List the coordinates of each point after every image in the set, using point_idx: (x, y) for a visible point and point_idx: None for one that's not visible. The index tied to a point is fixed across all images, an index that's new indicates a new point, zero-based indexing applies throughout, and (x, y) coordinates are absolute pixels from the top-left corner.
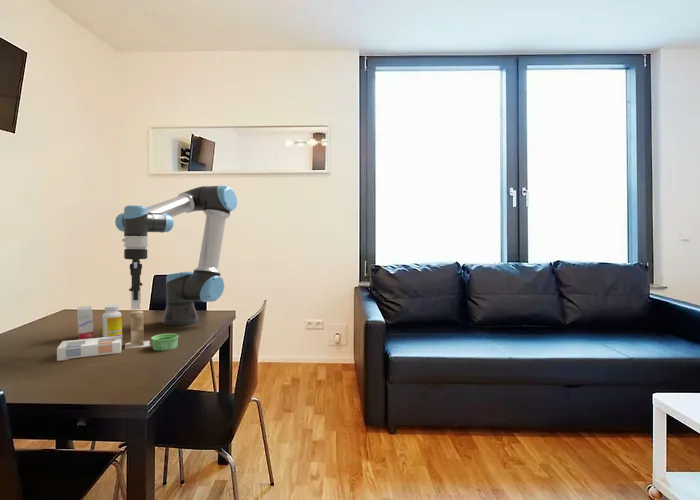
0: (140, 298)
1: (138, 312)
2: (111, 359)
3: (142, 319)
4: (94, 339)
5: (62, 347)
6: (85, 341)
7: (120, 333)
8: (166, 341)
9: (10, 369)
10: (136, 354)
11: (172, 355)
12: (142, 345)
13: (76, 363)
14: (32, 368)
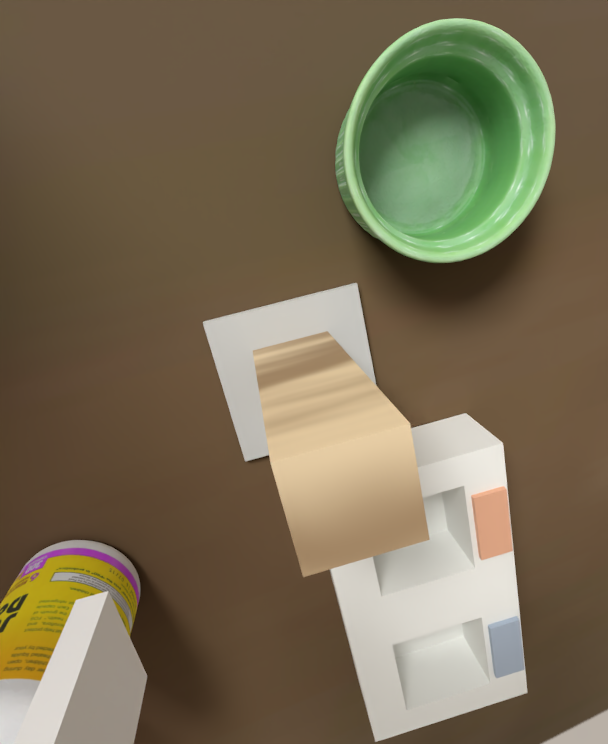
0: (81, 662)
1: (381, 480)
2: (554, 423)
3: (384, 399)
4: (379, 614)
5: (511, 681)
6: (390, 643)
7: (82, 560)
8: (543, 120)
9: (551, 728)
10: (503, 321)
11: (605, 74)
12: (332, 336)
13: (561, 550)
14: (568, 670)
